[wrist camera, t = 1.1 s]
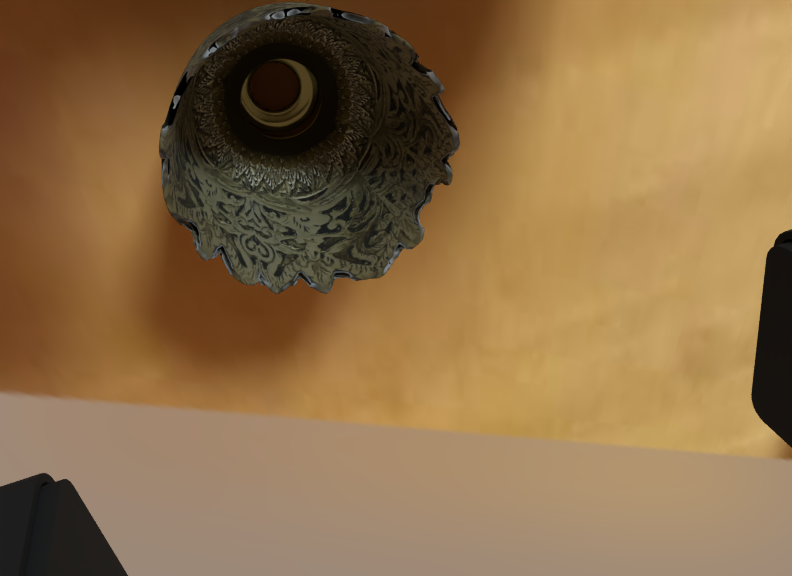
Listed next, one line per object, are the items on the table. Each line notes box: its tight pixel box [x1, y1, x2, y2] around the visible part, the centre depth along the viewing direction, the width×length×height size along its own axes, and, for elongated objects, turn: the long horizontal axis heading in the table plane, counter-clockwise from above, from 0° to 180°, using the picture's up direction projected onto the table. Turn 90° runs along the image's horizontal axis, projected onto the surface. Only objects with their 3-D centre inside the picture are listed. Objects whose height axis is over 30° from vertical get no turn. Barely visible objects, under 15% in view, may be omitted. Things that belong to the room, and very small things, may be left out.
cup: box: [159, 3, 460, 294], centre depth 22 cm, size 8×7×8 cm
